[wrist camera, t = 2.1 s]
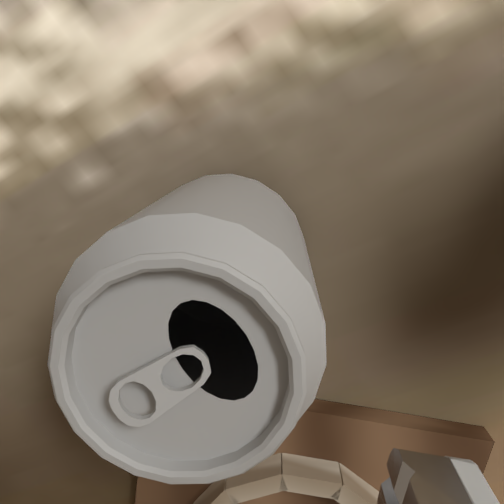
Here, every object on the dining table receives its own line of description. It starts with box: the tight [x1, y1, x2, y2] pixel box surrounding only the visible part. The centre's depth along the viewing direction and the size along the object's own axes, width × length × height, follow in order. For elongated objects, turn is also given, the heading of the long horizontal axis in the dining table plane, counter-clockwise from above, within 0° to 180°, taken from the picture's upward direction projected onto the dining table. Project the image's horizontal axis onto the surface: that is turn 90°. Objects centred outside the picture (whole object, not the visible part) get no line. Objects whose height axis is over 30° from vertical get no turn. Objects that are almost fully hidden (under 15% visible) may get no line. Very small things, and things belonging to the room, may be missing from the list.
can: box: [48, 174, 326, 484], centre depth 16 cm, size 8×8×12 cm
